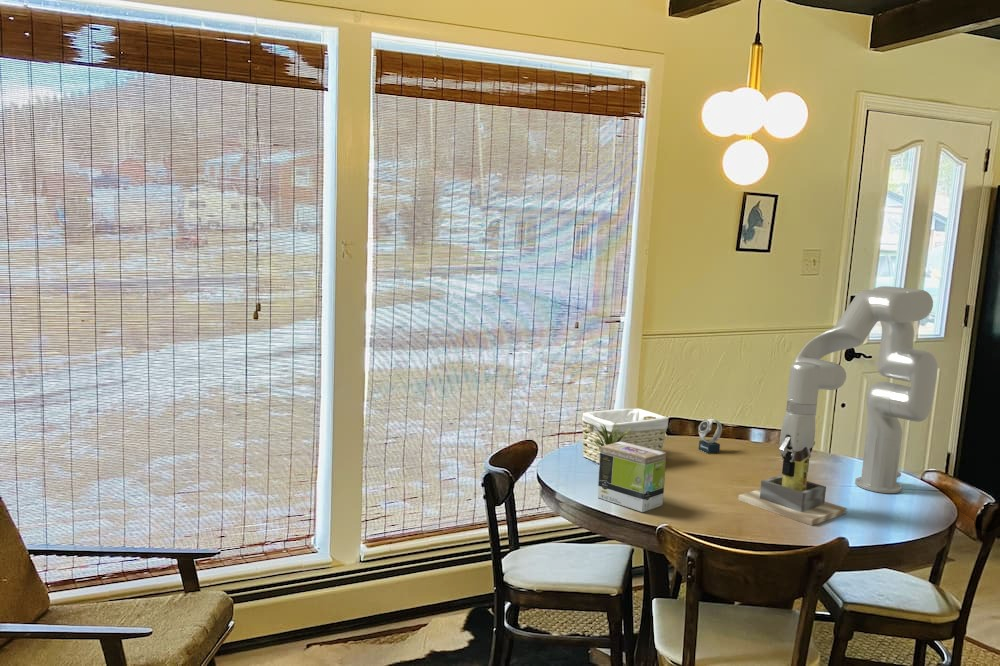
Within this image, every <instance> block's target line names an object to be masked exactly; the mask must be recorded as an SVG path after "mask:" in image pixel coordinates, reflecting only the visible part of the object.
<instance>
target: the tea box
mask: <svg viewBox="0 0 1000 666" xmlns="http://www.w3.org/2000/svg"><path fill="white" fill-rule="evenodd" d="M666 460H667V452H665V451H663V450H662V451H658V450H654V449H650V448H646V447H642V446H639V445H634V444H630V443H626V442H622V441H621V442H617V443H613V444H608V445H604V446H601V450H600V464H599V467H598V468H599V470H598V481H597V482H598V484H597V485H598V486H597V498H598V499H601V500H603V501H604V500H605V501H606V502H607V501H608V502H610V503H613V504H617V505H620V506H623V507H624V508H625V507H626V508H629V509H632V510H635V511H638V512H640V513H644V512H647V511H650V510H653V509H656V508H659V507H662V506H663V504H664V503H663V502H664V494H665V493H664V491H665V481H666V479H665V478H666V477H665V476H666V464H667V463H666V462H667V461H666Z"/></svg>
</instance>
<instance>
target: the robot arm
mask: <svg viewBox="0 0 1000 666" xmlns="http://www.w3.org/2000/svg"><path fill="white" fill-rule="evenodd" d="M933 307H934V300H933V297H932V295H931V294H930V292H928V291H927V290H924V289H918V288H908V287H907V288H906V287H898V286H897V287H896V286H887V285H885V286H878V287H877V286H876V287H874V288H873V289H863V290H861V291H859V292H857V294H856V295H855V296H854V298H853V299H852V301H850V304H849V305H848V306H847V308H846V309H845V311H844V312H843V314H842V315H841V316H840V318H839V320H838V321H837V322H836V325H835V326H834V327H832V328H830V329H827V330H826V331H824V332H822V333H820V334H818V335H817V336H814V337H813V338H811V339H810V340H809V341H807V343H806V344H805V345H804V346H803V347H802V348H801V350H800V351H799V353H798V354H797V356H796V357H795V359H794V361H793V363H791V365H790V369H789V377H788V387H787V388H788V389H787V398H786V406H785V407H786V409H785V414H784V417H783V421H782V424H781V431H780V436H779V453H780V454H781V457H782V461H783V462H782V467H781V468H782V469H781V470H782V471H781V475H787V476H790V477H793V476H794V469H795V462H793V461H794V458H795V455H796V452H798V451H802V450H803V449H804V448H805V447H807V450H808V453H809V460H808V468H809V466H810V465H809V464H810V458H811V453H812V451H813V448H814V446H815V445H816V441H815V438H816V437H815V435H816V416H817V408H818V407H817V406H818V397H819V390H826V391H834V390H838V389H840V388H841V387H842V386H844V384H845V383H846V381H847V372H846V369H845V368H844V367H843V366H842V365H841V364H838V363H837V362H833V361H827V360H823V359H822V358H824V357H825V356H828V355H829V354H832V353H835V352H839V351H844V350H849V349H853V348H856V347H859V346H861V345H863V343H864V342H865V341H866V339H867V338H868V336H869V334H870V333H871V331H872V330H873V328H874V327H875V325H877V323H878V322H880V325H881V337H880V344H879V345H880V346H879V350H878V358H877V371H878V373H879V374H880V375H881V376H883V377H885V378H889V379H893V380H897V381H903V382H909V383H910V386H907V385H904V384H899V383H898V384H897V383H894V382H887V381H880V382H875V383H873V384H872V385H870V387H868V389H867V392H866V397H865V398H866V409H867V423H866V424H867V425H866V433H865V441H864V442H865V443H864V451H863V458H862V459H863V460H862V467H861V468H862V469H861V476H859V477H857V478H855V480H854V483H855V485H856V486H858V487H860V488H862V489H864V490H867V491H871V492H876V493H880V494H881V493H882V494H897V493H900V492H901V491H902V488H903V487H902V485H900V484H899V483H898V482H897V480H898V478H900V477H901V476H902V473H901V472H900V471H899V465H900V464H899V462H900V454H901V447H902V439H903V438H902V437H903V429H902V425H901V423H900V420H899V419H901V420H907V421H911V422H915V423H918V422H919V423H920V422H924V421H925V420H927V418H928V417H929V415H930V413H931V410H932V408H933V407H932V406H933V401H934V396H935V388H936V383H937V377H938V363H937V359H936V357H935V356H934V355H933V354H932V353H931V352H929V351H926V350H922V349H916V348H915V349H914V339H915V329H914V325H913V322H919V321H923V320H924V319H927V317H929V315H930V314H931V312H932V310H933ZM789 447H790V448H792V450H790V449H789ZM788 452H791V453H792V454H791V456H790V454H789V453H788Z"/></svg>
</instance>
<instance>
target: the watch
mask: <svg viewBox="0 0 1000 666" xmlns="http://www.w3.org/2000/svg"><path fill="white" fill-rule="evenodd" d="M714 422H715V424H716V425H717V428H716V430H715V432H714V434H713V436H712V438H711V439H706V438H705V437H706V436H707V434H708V433H710V432H711V431H712V426H713V423H714ZM697 428H698V435H699V438H700V439H701V440H699V441H698V450H699V451H701V450H702V451H701V452H703V451H704V453H705V452H706V454H707V453H716V454H720V449H721V443H718V440H719V439H720V437H721V435H722V432H723V427H722V424H721V422H720V421H719V420H717V419H714V418H707V419H705V420H702V421H701V422H700V423H699V424H698V427H697Z"/></svg>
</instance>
